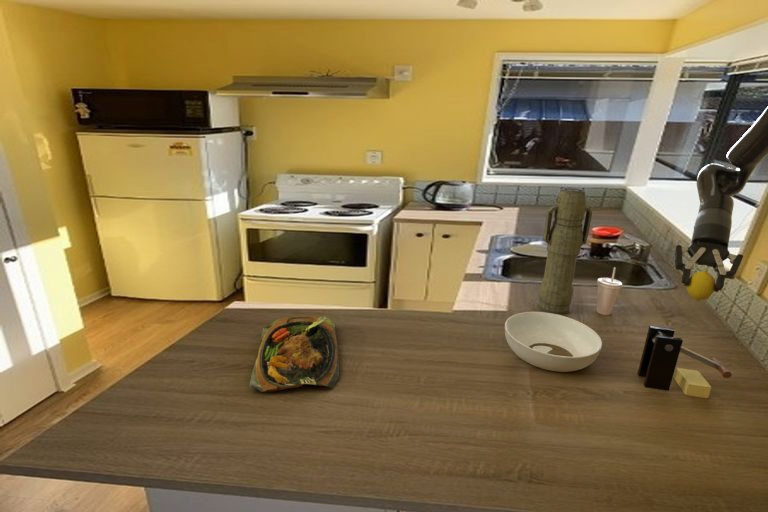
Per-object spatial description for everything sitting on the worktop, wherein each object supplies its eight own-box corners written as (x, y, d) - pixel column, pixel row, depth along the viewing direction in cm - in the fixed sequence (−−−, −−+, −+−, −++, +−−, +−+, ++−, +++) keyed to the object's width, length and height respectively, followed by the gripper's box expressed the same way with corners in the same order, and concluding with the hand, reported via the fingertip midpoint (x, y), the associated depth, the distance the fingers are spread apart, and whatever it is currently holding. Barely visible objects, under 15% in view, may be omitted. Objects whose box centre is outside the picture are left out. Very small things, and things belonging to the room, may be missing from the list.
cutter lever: (714, 367, 87) (722, 358, 86) (726, 381, 83) (735, 372, 82) (649, 336, 88) (656, 327, 88) (657, 348, 84) (665, 339, 83)
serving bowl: (499, 373, 92) (503, 345, 90) (503, 330, 111) (506, 306, 109) (604, 393, 87) (611, 364, 84) (589, 344, 106) (594, 319, 103)
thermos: (527, 301, 129) (544, 187, 118) (564, 300, 130) (584, 187, 119) (541, 314, 121) (560, 192, 110) (580, 313, 122) (603, 192, 111)
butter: (695, 382, 91) (700, 367, 90) (715, 409, 83) (721, 392, 82) (664, 378, 92) (668, 363, 91) (681, 403, 84) (686, 387, 83)
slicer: (664, 378, 92) (678, 325, 88) (681, 403, 84) (698, 346, 80) (624, 372, 94) (636, 320, 90) (637, 396, 86) (651, 340, 82)
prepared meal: (341, 373, 84) (247, 378, 81) (340, 388, 85) (248, 393, 82) (334, 315, 111) (263, 317, 108) (334, 327, 112) (264, 329, 109)
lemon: (709, 299, 107) (717, 269, 104) (711, 307, 102) (720, 276, 100) (682, 294, 110) (690, 265, 107) (684, 302, 105) (692, 272, 103)
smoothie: (609, 319, 119) (619, 272, 115) (587, 311, 124) (596, 266, 119) (619, 313, 123) (629, 268, 119) (597, 305, 128) (606, 261, 123)
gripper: (680, 218, 110) (668, 274, 104) (752, 226, 102) (743, 287, 97) (676, 233, 116) (664, 287, 110) (743, 242, 108) (734, 301, 102)
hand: (701, 287), depth 103 cm, fingers closed on lemon, 5 cm apart
